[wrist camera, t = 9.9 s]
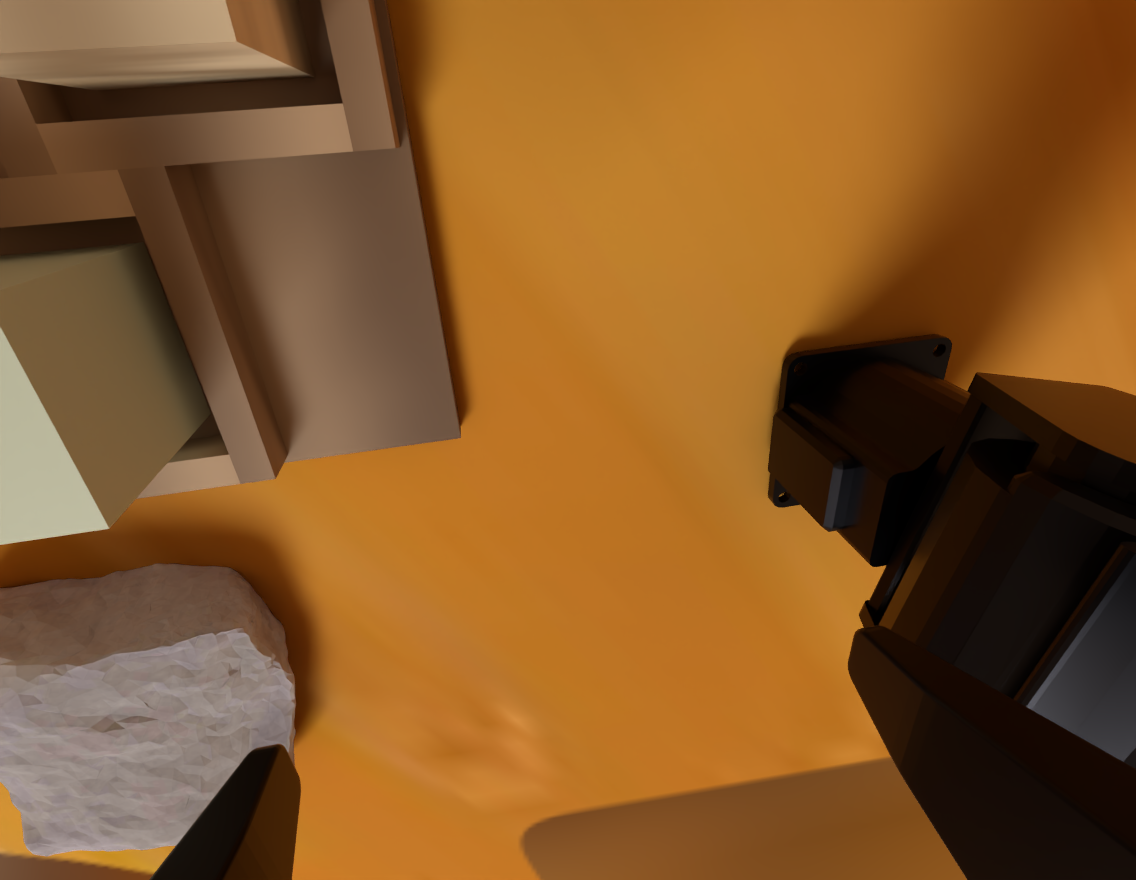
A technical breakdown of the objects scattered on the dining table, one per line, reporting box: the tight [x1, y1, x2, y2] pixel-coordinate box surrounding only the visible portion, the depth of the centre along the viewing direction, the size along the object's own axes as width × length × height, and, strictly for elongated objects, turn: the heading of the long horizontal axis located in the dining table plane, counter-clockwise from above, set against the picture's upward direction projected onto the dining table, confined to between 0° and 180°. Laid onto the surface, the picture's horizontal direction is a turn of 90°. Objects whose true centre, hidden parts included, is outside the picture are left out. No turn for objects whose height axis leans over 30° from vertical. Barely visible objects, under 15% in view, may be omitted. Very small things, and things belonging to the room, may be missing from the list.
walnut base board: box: [0, 0, 461, 499], centre depth 14 cm, size 14×18×2 cm
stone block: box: [0, 563, 296, 856], centre depth 22 cm, size 12×5×10 cm
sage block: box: [0, 242, 211, 545], centre depth 14 cm, size 5×5×6 cm
